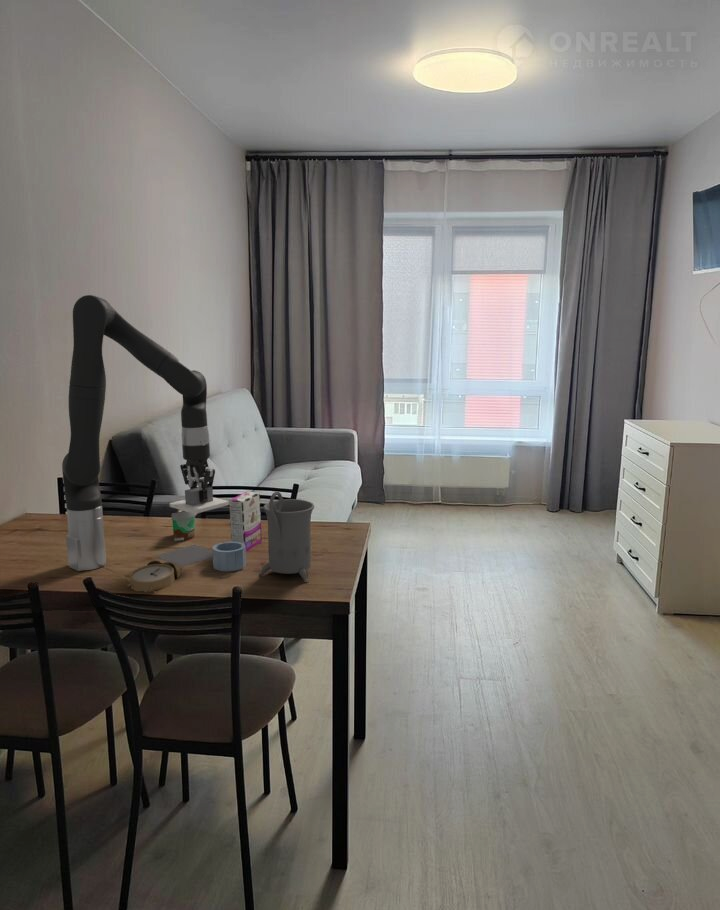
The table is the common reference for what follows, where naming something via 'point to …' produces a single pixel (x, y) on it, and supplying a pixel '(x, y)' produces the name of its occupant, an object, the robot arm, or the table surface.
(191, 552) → the mat
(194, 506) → the lid
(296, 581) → the table surface
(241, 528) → the candy bar box
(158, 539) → the table surface
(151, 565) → the alarm clock
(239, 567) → the bowl
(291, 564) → the grey footed pot
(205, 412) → the robot arm
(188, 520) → the food container
